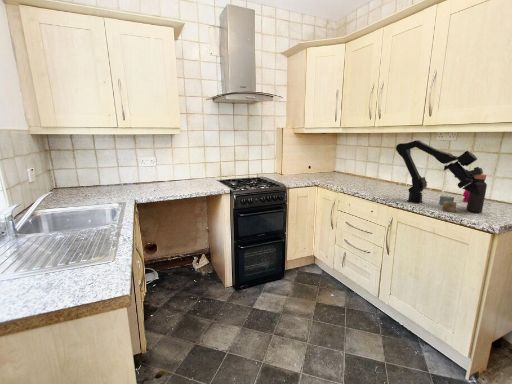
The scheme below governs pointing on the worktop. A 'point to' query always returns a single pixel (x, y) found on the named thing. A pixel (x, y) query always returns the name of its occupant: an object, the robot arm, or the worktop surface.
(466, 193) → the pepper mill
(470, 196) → the vinegar
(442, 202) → the slate cube
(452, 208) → the walnut cube
